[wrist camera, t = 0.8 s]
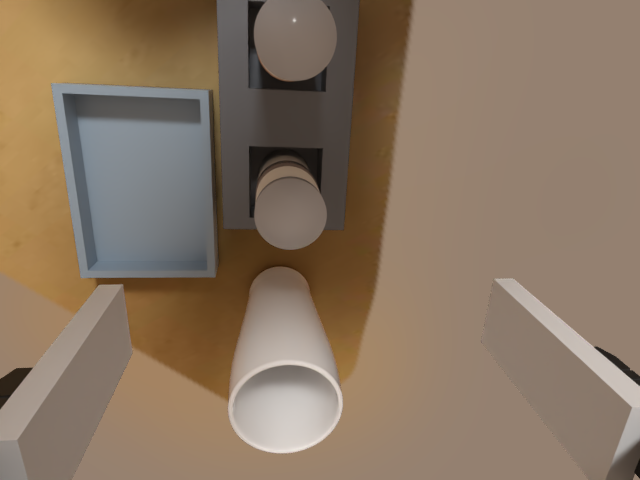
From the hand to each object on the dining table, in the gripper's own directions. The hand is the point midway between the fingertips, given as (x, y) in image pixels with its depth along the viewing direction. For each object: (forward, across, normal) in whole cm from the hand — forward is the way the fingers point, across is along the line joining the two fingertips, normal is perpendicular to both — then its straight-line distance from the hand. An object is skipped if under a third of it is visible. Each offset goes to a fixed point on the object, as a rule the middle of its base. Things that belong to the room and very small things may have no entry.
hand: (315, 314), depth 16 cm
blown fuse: (+20, 0, 0) cm, 20 cm away
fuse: (+21, 0, +9) cm, 23 cm away
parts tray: (+21, -11, 0) cm, 24 cm away
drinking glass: (+21, -1, -10) cm, 24 cm away
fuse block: (+21, 0, +5) cm, 22 cm away
